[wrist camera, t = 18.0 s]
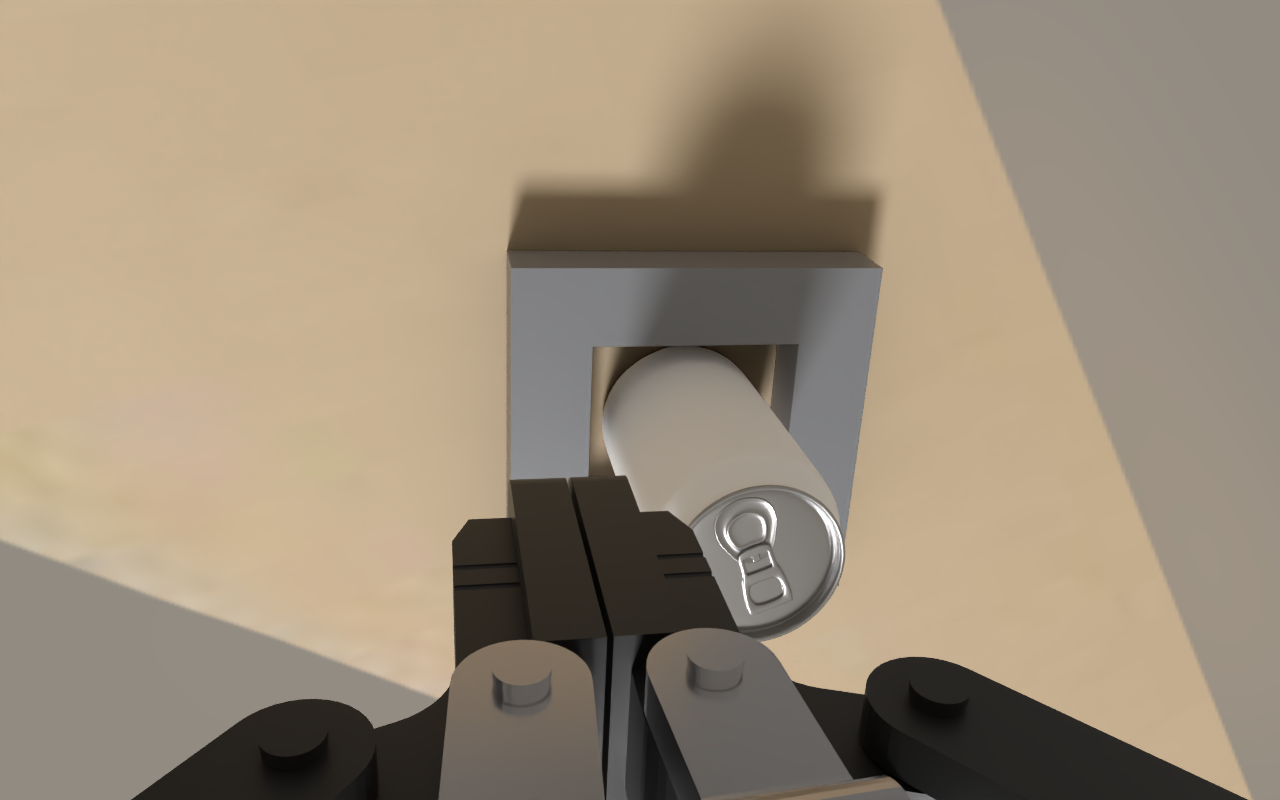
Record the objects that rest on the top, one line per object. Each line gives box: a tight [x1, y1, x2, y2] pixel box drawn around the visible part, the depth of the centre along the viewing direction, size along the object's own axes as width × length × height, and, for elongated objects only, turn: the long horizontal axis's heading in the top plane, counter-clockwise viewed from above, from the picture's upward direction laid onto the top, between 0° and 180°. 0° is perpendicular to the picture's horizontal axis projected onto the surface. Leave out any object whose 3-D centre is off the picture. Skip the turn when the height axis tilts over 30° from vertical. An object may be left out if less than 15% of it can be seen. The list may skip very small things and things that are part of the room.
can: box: [602, 346, 845, 642], centre depth 38 cm, size 6×6×12 cm
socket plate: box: [507, 251, 883, 586], centre depth 42 cm, size 14×14×2 cm
